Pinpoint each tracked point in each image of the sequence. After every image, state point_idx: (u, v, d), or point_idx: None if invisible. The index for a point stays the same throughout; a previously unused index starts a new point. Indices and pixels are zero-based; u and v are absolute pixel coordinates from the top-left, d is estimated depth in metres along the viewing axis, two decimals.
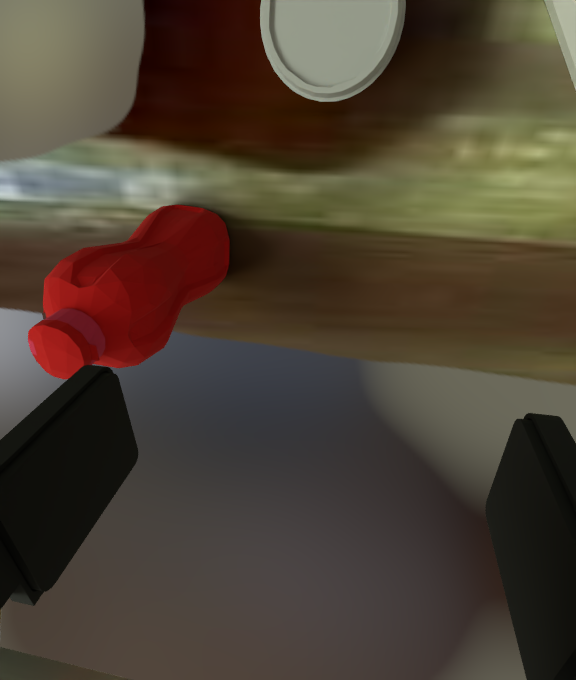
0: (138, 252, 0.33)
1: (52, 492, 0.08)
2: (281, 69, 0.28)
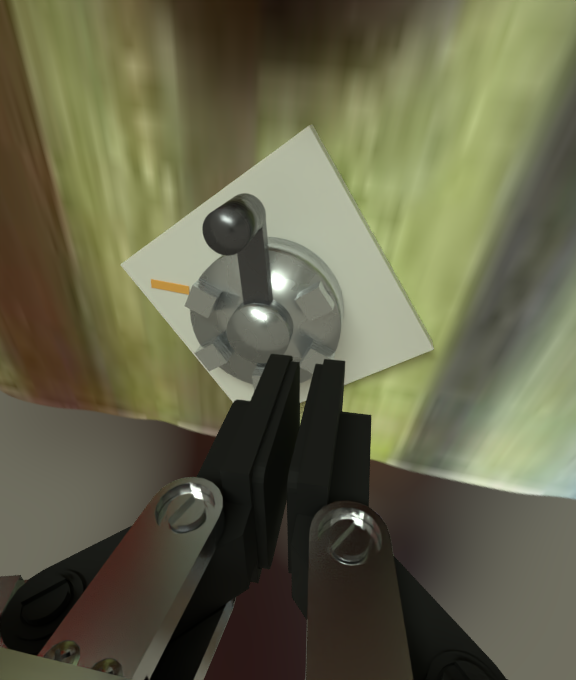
0: None
1: (277, 473, 0.08)
2: None
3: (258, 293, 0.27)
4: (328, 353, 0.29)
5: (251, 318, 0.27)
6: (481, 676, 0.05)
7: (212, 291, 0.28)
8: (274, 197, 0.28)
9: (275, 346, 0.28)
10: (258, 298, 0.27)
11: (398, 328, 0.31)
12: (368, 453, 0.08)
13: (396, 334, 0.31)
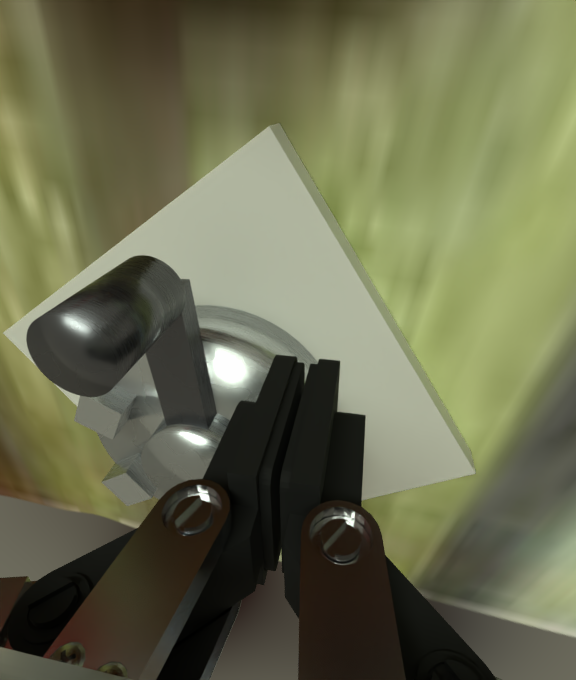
0: None
1: None
2: None
3: (187, 411, 0.16)
4: None
5: (178, 450, 0.16)
6: (470, 676, 0.05)
7: (117, 399, 0.17)
8: (217, 245, 0.17)
9: None
10: (188, 418, 0.16)
11: (420, 442, 0.20)
12: (362, 453, 0.08)
13: (417, 450, 0.20)
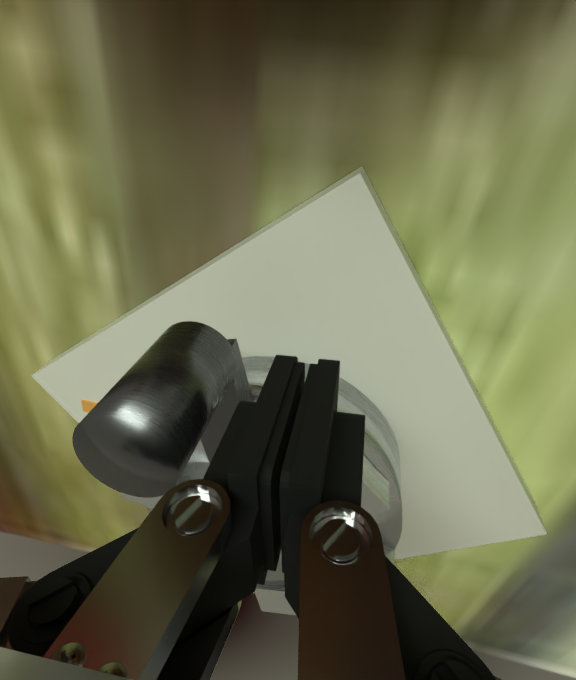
0: None
1: None
2: None
3: None
4: None
5: None
6: (470, 675, 0.05)
7: None
8: (285, 295, 0.15)
9: None
10: None
11: (489, 501, 0.18)
12: (361, 453, 0.08)
13: (485, 509, 0.19)
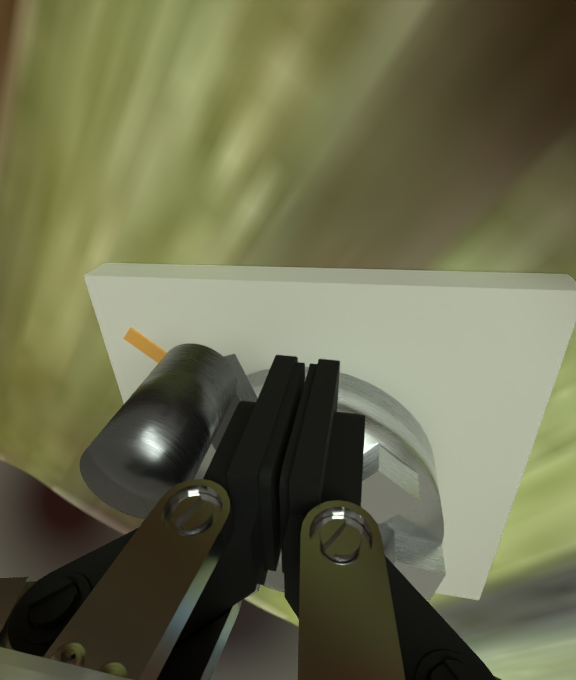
0: None
1: None
2: None
3: None
4: (431, 555, 0.15)
5: None
6: (469, 675, 0.05)
7: None
8: (434, 346, 0.15)
9: None
10: None
11: (457, 564, 0.21)
12: (361, 453, 0.08)
13: (449, 568, 0.21)
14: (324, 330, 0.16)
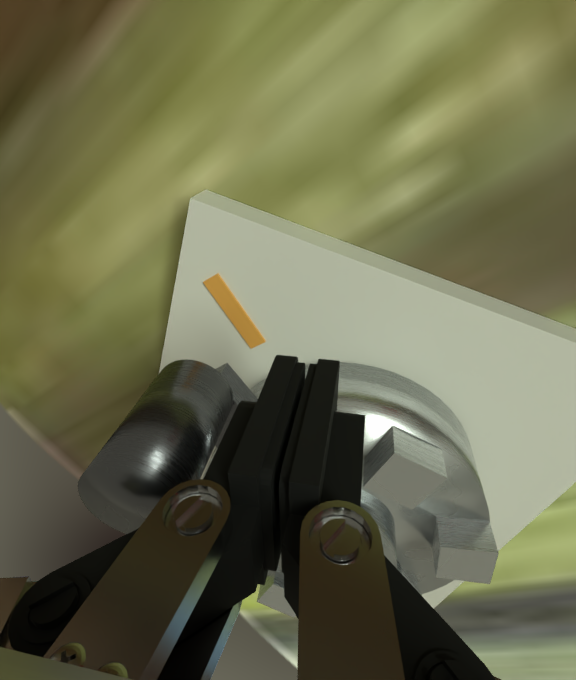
0: None
1: None
2: None
3: None
4: (479, 535, 0.14)
5: None
6: (469, 675, 0.05)
7: None
8: (527, 390, 0.15)
9: None
10: None
11: None
12: (361, 453, 0.08)
13: None
14: (430, 344, 0.15)
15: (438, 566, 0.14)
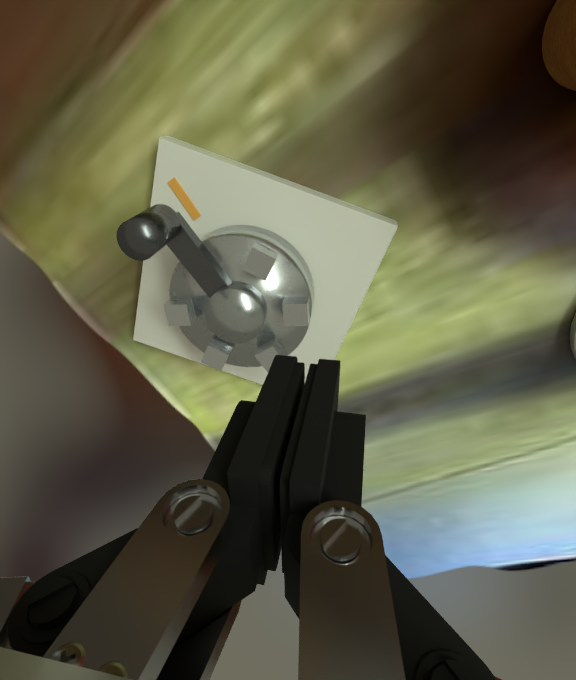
0: None
1: None
2: None
3: (213, 281, 0.29)
4: (301, 300, 0.29)
5: (219, 305, 0.29)
6: (470, 676, 0.05)
7: (182, 301, 0.31)
8: (330, 235, 0.31)
9: (253, 318, 0.30)
10: (216, 285, 0.29)
11: None
12: (362, 453, 0.08)
13: None
14: (281, 211, 0.30)
15: (283, 317, 0.30)
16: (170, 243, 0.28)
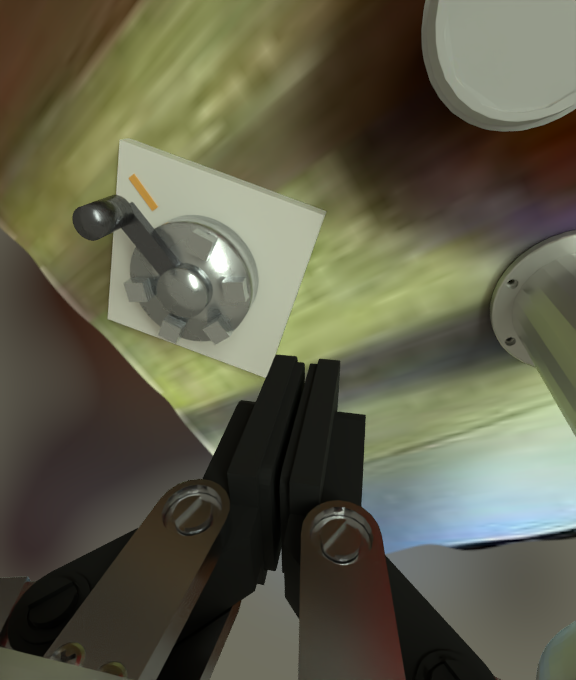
0: None
1: None
2: None
3: (163, 262, 0.34)
4: (239, 279, 0.34)
5: (168, 283, 0.34)
6: (470, 675, 0.05)
7: (140, 280, 0.36)
8: (267, 224, 0.35)
9: (197, 294, 0.34)
10: (166, 266, 0.34)
11: (260, 352, 0.42)
12: (361, 453, 0.08)
13: (255, 354, 0.42)
14: (224, 203, 0.35)
15: (224, 294, 0.34)
16: (125, 229, 0.33)
